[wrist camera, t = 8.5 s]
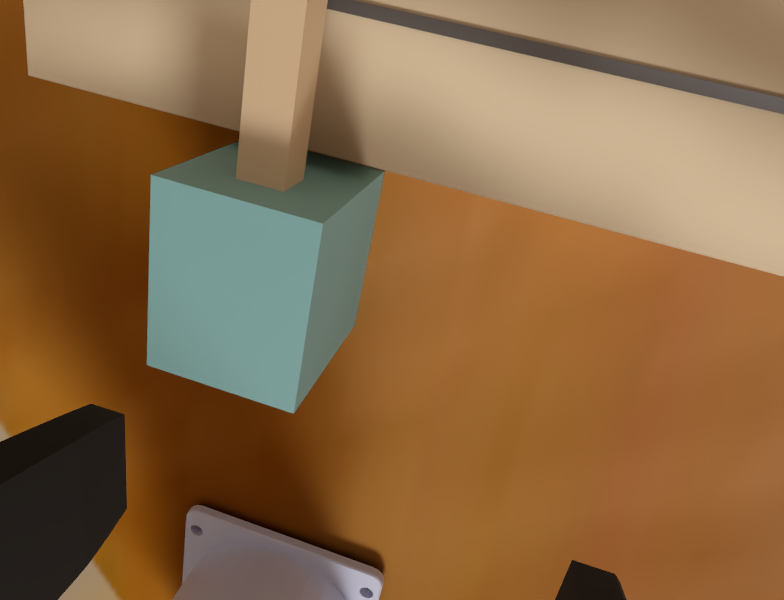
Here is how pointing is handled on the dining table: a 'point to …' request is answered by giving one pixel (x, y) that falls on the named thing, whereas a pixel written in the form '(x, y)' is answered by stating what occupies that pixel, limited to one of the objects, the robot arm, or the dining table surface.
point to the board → (493, 99)
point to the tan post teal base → (261, 232)
